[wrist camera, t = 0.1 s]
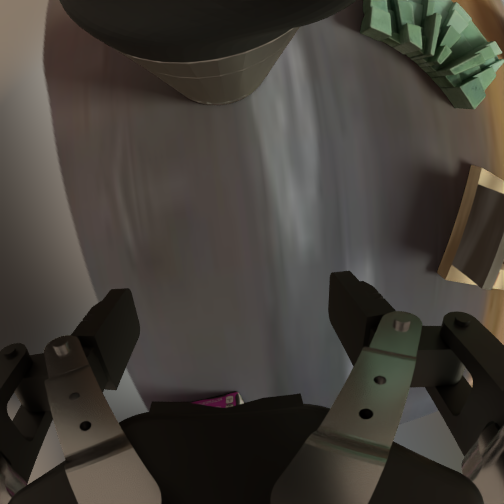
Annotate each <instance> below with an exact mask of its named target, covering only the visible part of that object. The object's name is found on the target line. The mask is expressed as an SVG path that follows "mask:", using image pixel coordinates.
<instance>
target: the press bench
mask: <svg viewBox="0 0 504 504" xmlns="http://www.w3.org/2000/svg"><path fill="white" fill-rule="evenodd" d="M437 273H438V274H439V275H440V276H442V277H443V278H444V279H445V280H450V281H456V282H461V283H467V284H473V285H478V286H479V287H481V288H482V289H487V290H492V288H496V289H502V290H504V181H503V180H502V179H500V178H498V177H497V176H495V175H493V174H492V173H490V172H488V171H487V170H485V169H483V168H481V167H477V166H474V165H471V167H470V171H469V176H468V180H467V183H466V187H465V191H464V195H463V198H462V202H461V205H460V208H459V212H458V215H457V218H456V221H455V224H454V227H453V230H452V233H451V236H450V239H449V242H448V245H447V247H446V250H445V253H444V255H443V258H442V261H441V263H440V266H439V268H438V271H437Z"/></svg>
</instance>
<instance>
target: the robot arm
mask: <svg viewBox="0 0 504 504" xmlns="http://www.w3.org/2000/svg"><path fill="white" fill-rule="evenodd" d="M355 1H356V0H60V2H61V4H62V6H63V8H64V10H65V11H66V12H67V14H68V15H69V16H70V18H71V19H72V20H73V21H74V22H75V23H77V24H78V25H79V26H80V27H81V28H82V29H84V30H85V31H87V32H88V33H89V34H91V35H92V36H94V37H95V38H97V39H99V40H100V41H102V42H104V43H105V44H107V45H109V46H111V47H112V48H113V49H115V50H116V51H118V52H120V53H121V54H123V55H124V56H126V57H128V58H129V59H131V60H132V61H134V62H135V63H137V64H139V65H140V66H142V67H143V68H145V69H146V70H148V71H149V72H151V73H152V74H154V75H155V76H157V77H158V78H160V79H161V80H163V81H164V82H165V83H167V84H168V85H170V86H171V87H173V88H174V89H175V90H177V91H178V92H180V93H181V94H183V95H184V96H186V97H187V98H188V99H190V100H193V101H195V102H198V103H201V104H206V105H225V104H230V103H234V102H236V101H239V100H242V99H244V98H245V97H247V96H248V95H250V94H252V93H253V92H254V91H255V90H256V89H257V88H258V87H259V86H260V85H261V83H262V82H263V80H264V79H265V77H266V76H267V75H268V73H269V72H270V70H271V69H272V67H273V66H274V64H275V63H276V61H277V60H278V58H279V57H280V55H281V54H282V52H283V51H284V49H285V48H286V46H287V45H288V44H289V42H290V41H291V39H292V38H293V36H294V35H295V33H296V32H297V30H298V29H299V27H300V26H304V25H308V24H311V23H314V22H317V21H320V20H322V19H325V18H327V17H329V16H331V15H333V14H335V13H337V12H339V11H341V10H342V9H344V8H346V7H347V6H349V5H350V4H352V3H353V2H355ZM328 312H329V319H330V322H331V324H332V326H333V328H334V330H335V332H336V334H337V335H338V337H339V339H340V341H341V343H342V345H343V347H344V349H345V351H346V353H347V355H348V356H349V358H350V360H351V362H352V364H353V366H354V367H353V369H352V371H351V373H350V375H349V377H348V379H347V380H346V382H345V384H344V386H343V388H342V390H341V391H340V393H339V395H338V397H337V398H336V400H335V402H334V404H333V405H332V407H331V409H330V408H326V407H323V406H318V405H311V404H303V401H302V397H301V394H293V395H286V396H277V397H268V398H261V399H258V400H254V401H251V402H247V403H243V404H239V405H235V406H231V407H227V408H220V407H213V406H207V405H201V404H195V403H190V402H152V404H151V407H150V411H149V412H146V413H142V414H138V415H135V416H132V417H130V418H127V419H125V420H123V421H121V422H119V423H118V421H117V420H116V418H115V416H114V414H113V412H112V410H111V409H110V407H109V405H108V403H107V401H106V399H105V397H104V395H103V391H104V389H107V390H117V387H118V385H119V382H120V380H121V378H122V375H123V373H124V370H125V368H126V366H127V363H128V361H129V359H130V356H131V354H132V352H133V349H134V347H135V345H136V342H137V340H138V338H139V335H140V324H139V320H138V316H137V312H136V308H135V305H134V301H133V296H132V293H131V291H130V289H128V288H126V289H111V290H110V291H109V293H108V294H107V295H106V297H105V298H104V299H103V300H102V301H101V302H99V303H98V304H96V305H95V306H93V307H92V308H91V309H90V311H89V312H88V313H87V315H86V316H85V317H84V318H83V321H81V322H80V324H79V325H78V326H77V328H76V329H75V330H74V332H73V333H72V334H71V335H65V336H61V337H58V338H55V339H54V340H52V341H50V342H49V343H48V344H47V345H46V347H45V349H44V353H42V354H35V355H29V353H28V350H27V348H26V347H25V345H24V344H21V343H16V344H11V345H9V346H7V347H5V348H3V349H2V350H1V351H0V504H504V345H503V344H502V343H501V342H500V341H499V340H498V339H497V338H496V337H495V336H494V335H493V334H492V333H491V332H490V331H489V330H488V329H486V328H485V327H484V326H483V325H482V324H481V323H480V322H479V321H478V320H477V319H476V318H475V317H473V316H472V315H470V314H467V313H464V312H450V313H448V314H446V315H445V316H444V318H443V322H442V326H422V322H421V320H420V319H419V318H418V317H417V316H415V315H413V314H411V313H408V312H402V311H395V309H394V308H393V307H392V306H391V305H390V304H389V303H388V302H387V301H386V300H385V299H383V296H382V295H381V294H380V293H378V291H377V290H376V289H375V288H374V287H373V286H372V285H370V284H368V283H366V282H364V281H359V280H358V279H357V278H356V277H355V276H354V275H353V274H352V273H351V272H350V271H343V272H333V273H331V275H330V285H329V306H328ZM465 367H466V369H467V370H468V371H469V372H470V374H471V375H472V378H473V388H472V387H471V386H470V385H469V383H468V382H467V380H466V379H465V378H464V376H463V372H464V370H465ZM410 387H425V388H426V390H427V391H428V393H429V395H430V396H431V398H432V400H433V401H434V403H435V405H436V407H437V408H438V410H439V412H440V413H441V415H442V417H443V418H444V420H445V422H446V424H447V426H448V427H449V429H450V431H451V433H452V435H453V436H454V438H455V440H456V442H457V444H458V446H459V448H460V449H461V451H462V453H463V455H464V459H463V461H462V473H463V474H461V473H459V472H457V471H455V470H452V469H450V468H448V467H446V466H443V465H441V464H439V463H437V462H435V461H432V460H430V459H428V458H426V457H424V456H422V455H419V454H417V453H415V452H413V451H411V450H409V449H407V448H405V447H403V446H401V445H399V444H397V443H395V442H394V441H393V440H394V436H395V434H396V431H397V428H398V425H399V422H400V419H401V416H402V413H403V409H404V406H405V403H406V399H407V396H408V392H409V388H410ZM13 393H15V394H16V395H17V397H18V399H19V401H20V402H21V406H20V408H19V410H18V412H17V413H16V415H15V417H14V419H13V421H12V420H11V419H10V417H9V416H8V413H7V403H8V401H9V400H10V398H11V396H12V395H13ZM52 420H54V424H55V428H56V431H57V434H58V438H59V441H60V444H61V447H62V450H63V453H64V456H65V461H64V462H62V463H61V464H59V465H58V466H56V467H55V468H53V469H52V470H50V471H49V472H47V473H45V474H44V475H42V476H41V477H39V478H38V479H36V480H35V481H33V482H32V483H30V484H28V485H27V483H28V480H29V477H30V475H31V472H32V469H33V466H34V464H35V461H36V459H37V456H38V453H39V451H40V448H41V446H42V443H43V441H44V438H45V436H46V434H47V431H48V429H49V427H50V424H51V422H52Z"/></svg>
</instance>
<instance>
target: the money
mask: <svg viewBox="0 0 504 504" xmlns="http://www.w3.org/2000/svg"><path fill="white" fill-rule="evenodd" d="M363 12H364V18H363V20H362V24H361V29H360V33H361V34H363V35H366V36H369V37H371V38H372V39H375V40H377V41H382V42H384V43H386V44H388V45H389V46H391V47H393V48H394V49H396V50H397V51H399V52H400V53H402V54H406V55H407V56H408V57H410V59H411V60H413V61H414V62H415V63H417V64H418V66H419V67H421V68H422V69H423V70H424V71H425V72H426V73H427V74H428V75H429V76H430V77H431V78H432V80H433V81H434V82H435V83H436V84H437V85H438V86H439V87H440V88H441V90H442V91H443V92H444V94H445V95H446V96H447V98H448V99H449V100H450V102H451V103H452V105H453V106H454V108H463V109H475V108H476V107H477V106H478V105H479V103H480V102H481V101H482V100H483V99H484V98H485V96H486V94H485V92H484V90H485V89H486V88H487V87H488V86H489V84H490V83H491V82H492V81H493V80H494V79H495V77H496V74H495V73H496V71H497V70H498V69H499V68H500V67H501V65H502V64H503V63H504V59H500V60H499V59H498V57H497V55H498V54H502V51H501V50H500V48H499V46H498V45H497V43H496V41H492V42H487V41H486V39H485V38H484V37H483V35H482V34H481V32H480V31H479V30H478V28H477V27H476V26H475V24H474V23H473V22H472V21H471V19H472V18H471V17H470V16H469V15H468V14H467V13H466V11H465V10H464V9H463V8H462V7H461V6H460V5H459V4H458V3H457V2H455V3H453V2H452V1H451V0H363Z"/></svg>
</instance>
